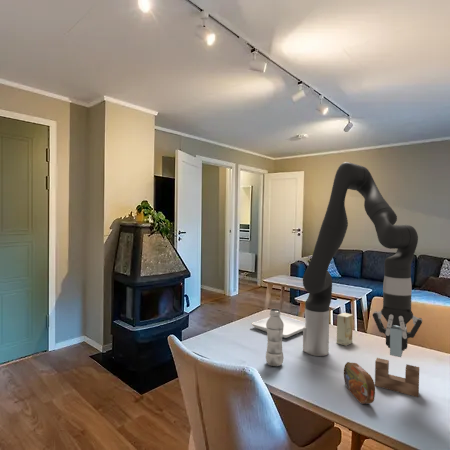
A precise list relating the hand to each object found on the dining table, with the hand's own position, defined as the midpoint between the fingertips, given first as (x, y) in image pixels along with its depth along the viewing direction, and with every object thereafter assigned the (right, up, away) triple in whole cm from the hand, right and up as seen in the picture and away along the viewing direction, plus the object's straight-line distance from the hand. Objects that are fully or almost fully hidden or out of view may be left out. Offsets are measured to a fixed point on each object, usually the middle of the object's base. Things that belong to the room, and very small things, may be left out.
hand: (396, 348), depth 100 cm
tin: (-11, -15, +1) cm, 19 cm away
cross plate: (+3, -2, +4) cm, 5 cm away
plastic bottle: (-34, -14, +21) cm, 42 cm away
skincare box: (0, -14, +42) cm, 44 cm away
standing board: (+2, -14, +4) cm, 15 cm away
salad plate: (-25, -13, +58) cm, 64 cm away
